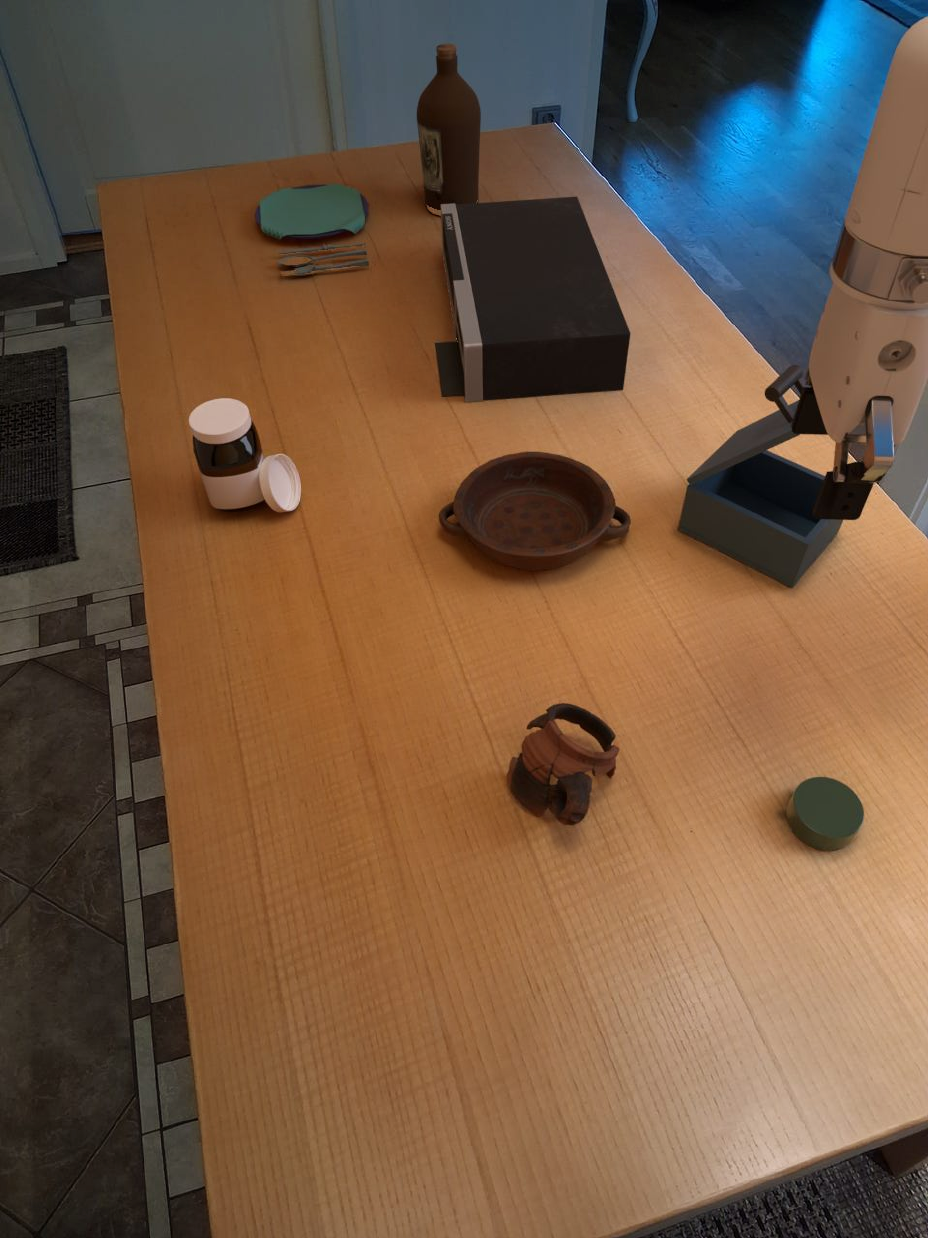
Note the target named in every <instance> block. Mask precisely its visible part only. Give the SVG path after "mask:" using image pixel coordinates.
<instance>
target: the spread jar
mask: <svg viewBox="0 0 928 1238" xmlns="http://www.w3.org/2000/svg"><path fill="white" fill-rule="evenodd" d="M188 424H189V427H190V430H191V433H192V449H193V454H194V457H195V462H196V464H197V468H198V471H199V474H200V477H201V480H202V483H203V486H204V490H205V493H206V495H207V498H208V501H209V504H210V505H211V506H212V508H214V509H215V510H217V511H219V512H225V513H240V512H241V513H242V512H247V511H249V510H252V509H254V508H257V507H259V506H260V505H263V504H264V503H266V504H267V505H268V506H269V507H270V509H271V510H273V511H274V512H276V513H287V512H291V511H294V510H295V509H297V507H298V506H299V503H300V501H301V498H302V484H301V478H300V474H299V471H298V469H297V467H296V465H295V462H294V461H293V460H292V459H291V458H290V457H289V456H287V455H286V454H283V453H276V454H272V455H268V456H266V457H265V455H264V451H263V447H262V442H261V439H260V435H259V432H258V429H257V426H256V424H255V422H254V421H253V420H252V418H251V414H250V410H249V407H248V406H247V405H246V404H245V403H244V402H242V401H240V400H238V399H235V398H234V399H233V398H229V397H226V398H225V397H222V398H215V399H211V400H208V401H207V400H206V401H205V402H203V403H201V404H199V405H198V406H196V407H195V408H194V409H193V410H192V412H191V413H190V414H189V417H188Z"/></svg>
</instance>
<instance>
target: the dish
mask: <svg viewBox="0 0 928 1238" xmlns="http://www.w3.org/2000/svg"><path fill="white" fill-rule="evenodd" d="M616 504H617V503H616V498H615V496H614V493H613V491H612V489H611V487H610V486H609V483H608V482H607V480H605V478H604V477H603V476H601V475H600V474H599V473H598V472H597V471H595V470H594V469H593V468H592V467H590V466H588V465H587V464H585V463H583V462H581V461H578V460H576V459H574V458H572V457H568V456H565V455H561V454H556V453H551V452H545V451H521V452H516V453H509V454H505V455H501V456H499V457H496V458H493V459H490V460H488V461H486V462H485V463H483V464H481V465H479V466H477V467H476V468H474V469H473V470H472V471H471V472H469V474H468V475H467V476H466V477H465V478H464V479H463V480H462V482H461V483H460V485H459V486H458V488H457V490H456V492H455V494H454V497H453V501H451V502H449V503H447V504H446V505H445V506H443V507H442V508H441V509H440V511H439V513H438V521H439V524H440V526H441V528H442V530H444V531H445V532H446V533H448V534H450V535H452V536H457V537H461V538H462V537H464V538H467V539H469V540H471V541H472V542H473V543H474V545H475V546H476V547H477V548H478V550H479V551H480V552H481V553H482V554H483V555H484V556H485V557H488V558H489V559H491V560H492V561H494V562H497V563H498V564H501V565H504V566H507V567H510V568H515V569H521V570H529V571H530V570H531V571H532V570H533V571H534V570H536V571H538V570H539V571H543V570H551V569H555V568H559V567H563V566H565V565H568V564H572V563H574V562H576V561H577V560H579V559H580V558H582V557H584V555H585V554H587V553H588V552H589V551H590V549H592V547H593V546H594V545H596V544H597V543H599V542H608V541H609V542H610V541H614V540H618V539H622V538H625V537H626V536H627V535H628V533H629V532H630V526H631V524H632V519H631V516H630V514H629V512H627V511H626V510H625V509H623V508H622V507H620V506H618V505H616ZM452 516H454V517H455V519H456V520H457V522H451V521H449V520H448V519H449V518H450V517H452ZM612 520H615V521H617V522H618V523H620V525H611V522H612Z"/></svg>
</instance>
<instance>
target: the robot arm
mask: <svg viewBox="0 0 928 1238" xmlns="http://www.w3.org/2000/svg"><path fill="white" fill-rule="evenodd" d="M888 69H889V70H888V72H887V76H886V79H885V83H884V85H883V89H882V93H881V96H880V99H879V103H878V106H877V110H876V113H875V116H874V119H873V123H872V126H871V130H870V133H869V137H868V140H867V143H866V147H865V150H864V153H863V157H862V160H861V164H860V167H859V170H858V173H857V177H856V181H855V184H854V187H853V190H852V194H851V197H850V201H849V203H848V207H847V211H846V214H845V217H844V219H843V223H842V226H841V229H840V233H839V236H838V238H837V239H838V240H837V243H836V246H835V249H834V253H833V257H832V260H831V263H830V267H829V276H830V280H831V281H832V286H831V288H830V291H829V293H828V297H827V299H826V302H825V305H824V308H823V311H822V313H821V317H820V319H819V323H818V326H817V329H816V332H815V336H814V339H813V343H812V347H811V351H810V354H809V360H808V369H807V370H806V372H805V379H804V382H805V384H806V385H807V387H803V389H802V392H801V394H800V395H799V399H798V400H799V402H798V405H797V409H796V412H795V415H794V418H793V422H792V425H791V428H792V432H793V433H795V434H800V435H813V436H814V435H816V436H819V435H820V436H828V437H829V438H830V439H831V440H832V441H833V442H835V444H834V445H835V446H834V458H833V466H832V467H833V468H832V470H830V471H826V474H825V475H824V476H825V478H824V481H823V484H822V487H821V489H820V492H819V495H818V498H817V500H816V503H815V506H814V509H813V514H814V517H815V518H816V519H832V520H843V521H856V520H858V519H860V517H861V515H862V513H863V510H864V509H865V506H866V503H867V502H868V501H867V500H868V498H869V496H870V494H871V491H872V489H873V486H874V484H878V483H879V482H881V481H882V480H883V478H884V477H885V476H886V473H887V472H888V471H889V470H890V469H891V468H892V467H893V466H894V462H895V446H900V445H901V444H902V443H903V441H904V440H905V439H906V437H907V435H908V433H909V430H910V427H911V424H912V422H913V420H914V417H915V415H916V412H917V410H918V407H919V404H920V401H921V399H922V396H923V393H924V390H925V387H926V384H927V382H928V15H927V16H925V17H923V18H922V19H920V20H918V21H917V22H915V23H914V24H912V25H911V26H910V27H909V29H908V30H906V32H905V33H904V34H903V36H902V37H901V39H900V41H899V43H898V44H897V46H896V49H895V52H894V54H893V57H892V60H891V63H890V66H889V68H888ZM858 425H860V426H864V425H865V434H862V433H861V434H858V433H857V434H856V433H852V432H853V431H854V430H855V429H856V428H857V426H858ZM850 445H866V451H865V454H864V455H863V456H862V459H861V461H853V462H849V463H848V460H849V452H850V450H849V449H850Z"/></svg>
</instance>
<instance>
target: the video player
mask: <svg viewBox="0 0 928 1238" xmlns="http://www.w3.org/2000/svg"><path fill="white" fill-rule="evenodd" d="M440 220H441V221H440V223H441V224H440V225H441V245H442V258H443V257H444V260H443V259H442V261H443V266H444V264H445V266H444V273H445V280H446V285H447V283H448V285H447V291H448V290H449V291H448V297H449V295H450V297H449V298H448V299H449V305H450V311H451V318H452V322H454V323H453V329H454V328H455V329H454V334H456V335H454V337H455V341H454V340H453V341H441V342H438V341H437V342H434V347H435V358H436V365H437V372H438V380H439V381H438V382H439V387H440V396H441V398H448V397H457V396H458V397H462V396H464V400H465V403H478V402H479V403H480V402H483V401H495V400H496V401H497V400H508V399H509V400H511V399H521V398H522V399H523V398H535V397H544V396H545V397H547V396H560V395H572V394H573V395H574V394H575V395H576V394H586V393H587V394H588V393H599V392H613V391H623V390H624V385H625V379H626V373H627V372H626V371H627V363H628V362H627V361H628V357H629V350H630V347H629V346H630V340H631V331H630V329H629V326H628V323H627V320H626V319H625V315H624V313H623V310H622V307H621V305H620V302H619V300H618V298H617V295H616V292H615V290H614V287H613V285H612V283H611V282H612V281H611V280H610V276H609V274H608V272H607V270H606V267H605V264H604V262H603V259H602V257H601V254H600V252H599V249H598V246H597V244H596V241H595V239H594V236H593V234H592V231H591V229H590V226H589V223H588V221H587V218H586V216H585V213H584V211H583V208H582V205H581V202H580V200H579V198H578V196H563V197H550V198H533V199H518V200H505V201H489V202H478V203H472V204H458V205H455V204H441V216H440ZM445 270H446V272H445ZM446 277H447V279H446ZM450 302H451V304H450ZM451 308H452V310H451ZM452 315H453V316H452ZM456 338H457V340H456ZM457 341H458V342H457Z"/></svg>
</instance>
